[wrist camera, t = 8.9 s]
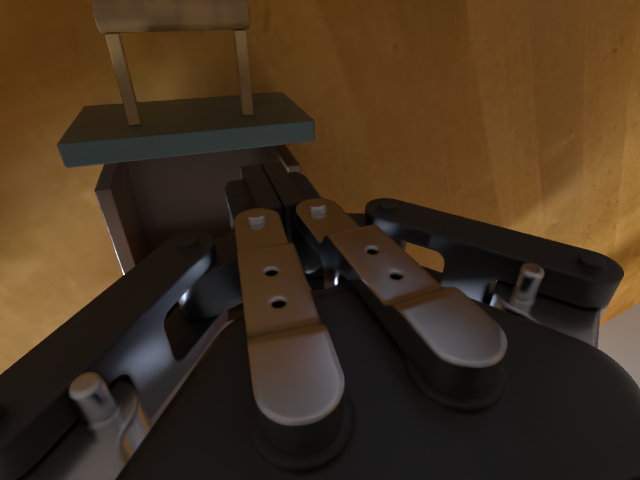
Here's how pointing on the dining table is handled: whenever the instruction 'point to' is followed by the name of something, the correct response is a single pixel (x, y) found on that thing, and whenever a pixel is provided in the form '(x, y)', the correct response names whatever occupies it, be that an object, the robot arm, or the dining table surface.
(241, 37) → the drawer
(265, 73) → the dining table surface
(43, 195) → the dining table surface
